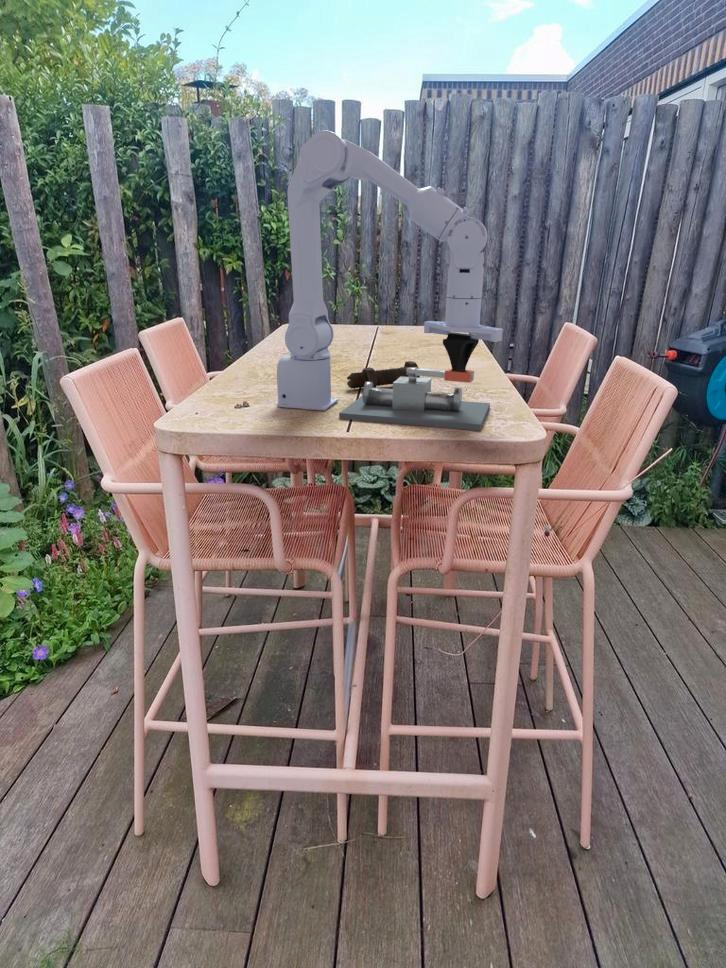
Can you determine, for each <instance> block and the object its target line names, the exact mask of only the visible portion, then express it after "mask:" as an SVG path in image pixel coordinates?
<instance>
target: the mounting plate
mask: <svg viewBox="0 0 726 968" xmlns="http://www.w3.org/2000/svg"><path fill="white" fill-rule="evenodd" d="M490 407H491V403H490V402H482V401H481V402H479V401H466V400H462V402H461V408H460V411H447V410H435V409H426V411H425V412H411V411H399V410H392V406H383V405H369V404H364V403H363V394H362V395H361V396H360V397H358V398H357V399H355V401H353V402H352V403H350V404H349V405H348V406H346V407H345V408H343V410H341V411H340V412H339V413H338V419H340V420H349V421H350V420H353V421H361V422H362V421H364V422H377V423H386V424H399V425H409V426H410V425H412V426H420V427H421V426H422V427H434V428H444V429H445V428H446V429H457V430H468V431H477V432H478V431H481V430H482V427H483V425H484V423H485V421H486V418H487V415H488V414H489V411H490V409H491V408H490Z"/></svg>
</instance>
